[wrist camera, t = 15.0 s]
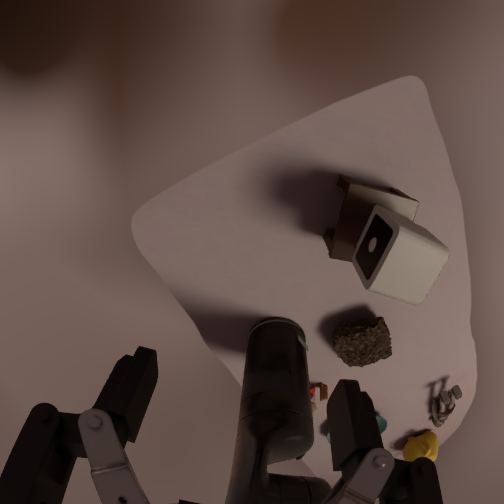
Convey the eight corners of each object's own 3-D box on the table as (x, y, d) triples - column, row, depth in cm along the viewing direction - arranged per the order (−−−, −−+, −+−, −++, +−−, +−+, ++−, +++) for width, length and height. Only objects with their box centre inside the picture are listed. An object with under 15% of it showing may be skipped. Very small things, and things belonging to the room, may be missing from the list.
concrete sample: (327, 317, 44) (332, 338, 39) (388, 301, 42) (398, 320, 38) (336, 364, 48) (340, 385, 44) (389, 350, 47) (396, 370, 42)
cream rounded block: (365, 195, 30) (401, 226, 21) (414, 217, 30) (457, 254, 21) (342, 245, 32) (366, 292, 23) (391, 263, 33) (424, 311, 24)
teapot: (428, 445, 65) (436, 470, 56) (397, 455, 67) (403, 482, 58) (438, 420, 58) (449, 449, 49) (403, 432, 60) (412, 463, 51)
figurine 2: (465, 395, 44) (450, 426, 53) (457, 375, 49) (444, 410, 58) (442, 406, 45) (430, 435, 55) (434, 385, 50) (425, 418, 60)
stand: (381, 249, 39) (396, 270, 33) (322, 238, 39) (329, 258, 33) (399, 189, 35) (419, 201, 29) (338, 173, 35) (350, 183, 29)
